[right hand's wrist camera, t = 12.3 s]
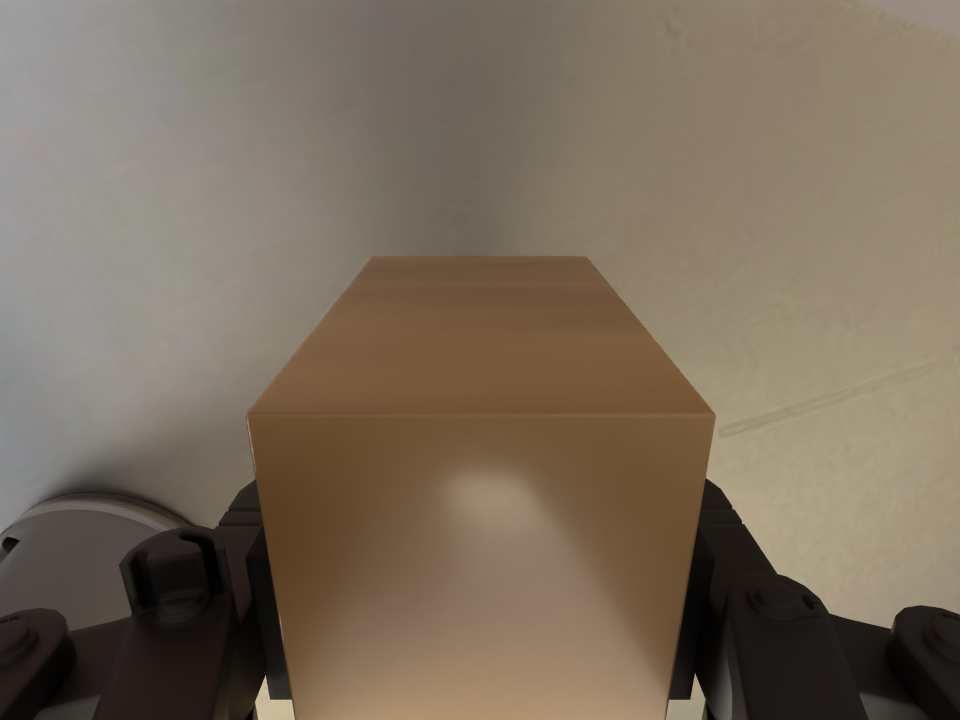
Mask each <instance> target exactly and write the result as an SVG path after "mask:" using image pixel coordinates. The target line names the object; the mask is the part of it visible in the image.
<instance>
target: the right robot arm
mask: <svg viewBox="0 0 960 720" xmlns="http://www.w3.org/2000/svg"><path fill="white" fill-rule="evenodd" d="M228 509H229V510H228V512H226V513H225V514H224V516H223V517H222V519H221V520H220V522H219V526H216V528H215V529H214V530H213V529H209V528H205V527H202V526H190V525H189V524H188V523H186V522H185V521H183V520H182V519H180V518H179V517H177V516H175V515H174V514H172V513H170V512H168V511H166V510H164V509H162V508H160V507H158V506H155V505H153V504H150V503H147V502H145V501H142V500H138V499H135V498H131V497H127V496H122V495H116V494H109V493H77V494H69V495H65V496H60V497H56V498H53V499H50V500H47V501H45V502H43V503H41V504H38V505H37V506H35V507H33V508H32V509H30V510H29V511H27V512H26V513H25V514H23V515H22V516H21V517H20V518H19V519H17V520H16V521H15V522H14V523H13V524H11V525H10V526H9V527H8V528H7V529H6V530H4V531H3V532H2V533H1V534H0V720H258V717H257V710H256V705H255V700H256V698H257V695H258V693H259V690H260V688H261V685H262V683H263V680H264V677H265V675H266V679H267V684H268V690H269V696H270V700H292V697H291V691H290V685H289V679H288V673H287V666H286V660H285V654H284V648H283V642H282V636H281V630H280V624H279V618H278V611H277V605H276V599H275V593H274V587H273V581H272V575H271V569H270V563H269V556H268V550H267V544H266V538H265V532H264V526H263V520H262V514H261V507H260V501H259V495H258V489H257V483H256V479H255V480H254V481H252V482H251V483H250V484H248V485H247V486H246V487H244V488H243V489H242V490H240V491H239V493H238V494H237V496H236V497H235V499H234V500H233V502H232V504H231V505H230V507H229V508H228ZM695 674H696V676H697V679H698V681H699V684H700V686H701V689H702V691H703V694H704V697H705V699H706V700H705V705H704V710H703V715H702V720H960V615H959V614H957V613H954V612H951V611H948V610H945V609H942V608H936V607H929V606H922V605H920V606H913V607H907V608H904V609H903V610H902V611H900V612H899V613H898V614H897V615H896V616H895V619H894V622H893V625H892V628H891V629H889V628H884V627H880V626H876V625H871V624H867V623H863V622H858V621H854V620H850V619H846V618H842V617H839V616H836V615H833V614H829V612H828V611H827V609H826V608H825V606H824V605H823V603H822V601H821V600H820V598H818V597H817V596H816V595H815V594H814V593H813V592H811V591H810V590H809V589H808V588H807V587H805V586H804V585H802V584H800V583H798V582H796V581H794V580H792V579H790V578H788V577H786V576H782V575H779V574H777V573H776V571H775V570H774V568H773V567H772V565H771V564H770V562H769V561H768V559H767V558H766V556H765V555H764V553H763V552H762V550H761V549H760V547H759V546H758V544H757V543H756V541H755V540H754V538H753V537H752V535H751V534H750V532H749V531H748V529H747V528H746V526H745V525H744V524H742V520H741V519H740V517H739V516H738V514H737V513H736V511H735V510H733V509H732V505H731V504H730V502H729V501H728V499H727V498H726V496H725V495H724V493H723V492H722V490H721V489H720V488H719V487H717V486H716V485H715V484H713V483H712V482H711V481H709V480H708V479H706V478H705V484H704V490H703V496H702V502H701V508H700V514H699V520H698V527H697V533H696V539H695V545H694V551H693V557H692V563H691V569H690V575H689V581H688V587H687V593H686V599H685V605H684V611H683V617H682V623H681V629H680V636H679V642H678V648H677V654H676V660H675V666H674V672H673V678H672V684H671V690H670V696H669V700H690V698H691V692H692V686H693V681H694V675H695Z"/></svg>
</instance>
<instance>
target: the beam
mask: <svg viewBox="0 0 960 720" xmlns="http://www.w3.org/2000/svg"><path fill="white" fill-rule="evenodd" d="M715 417H716V416H715V413H714V412H713V411H712V409H711V408H710V407H709V406H708V404H707V403H706V402H705V401H704V400H703V398H702V397H701V396H700V395H699V393H698V392H697V391H696V390H695V389H694V387H693V386H692V385H691V384H690V382H689V381H688V380H687V379H686V378H685V376H684V375H683V374H682V373H681V371H680V370H679V369H678V368H677V367H676V365H675V364H674V363H673V362H672V360H671V359H670V358H669V357H668V356H667V354H666V353H665V352H664V351H663V349H662V348H661V347H660V346H659V345H658V343H657V342H656V341H655V340H654V338H653V337H652V336H651V335H650V333H649V332H648V331H647V330H646V329H645V327H644V326H643V325H642V324H641V322H640V321H639V320H638V319H637V318H636V316H635V315H634V314H633V313H632V311H631V310H630V309H629V308H628V307H627V305H626V304H625V303H624V302H623V300H622V299H621V298H620V297H619V296H618V294H617V293H616V292H615V291H614V289H613V288H612V287H611V286H610V285H609V283H608V282H607V281H606V280H605V278H604V277H603V276H602V275H601V274H600V272H599V271H598V270H597V269H596V267H595V266H594V265H593V264H592V262H591V261H590V260H589V259H588V258H587V257H372V258H371V260H370V261H369V262H368V263H367V265H366V266H365V267H364V268H363V270H362V271H361V272H360V273H359V275H358V276H357V277H356V278H355V280H354V281H353V282H352V283H351V284H350V286H349V287H348V288H347V289H346V291H345V292H344V293H343V294H342V296H341V297H340V298H339V299H338V301H337V302H336V303H335V304H334V306H333V307H332V308H331V309H330V311H329V312H328V313H327V314H326V316H325V317H324V318H323V319H322V320H321V322H320V323H319V324H318V325H317V327H316V328H315V329H314V330H313V332H312V333H311V334H310V335H309V337H308V338H307V339H306V340H305V342H304V343H303V344H302V345H301V347H300V348H299V349H298V350H297V352H296V353H295V354H294V355H293V356H292V358H291V359H290V360H289V361H288V363H287V364H286V365H285V366H284V368H283V369H282V370H281V371H280V373H279V374H278V375H277V376H276V378H275V379H274V380H273V381H272V383H271V384H270V385H269V386H268V388H267V389H266V390H265V391H264V393H263V394H262V395H261V396H260V397H259V399H258V400H257V401H256V402H255V404H254V405H253V406H252V407H251V409H250V410H249V411H248V412H247V414H246V422H247V428H248V434H249V440H250V446H251V452H252V459H253V465H254V471H255V477H256V483H257V489H258V495H259V501H260V507H261V514H262V520H263V526H264V532H265V538H266V544H267V550H268V556H269V563H270V569H271V575H272V581H273V587H274V593H275V599H276V605H277V611H278V618H279V624H280V630H281V636H282V642H283V648H284V654H285V660H286V666H287V673H288V679H289V685H290V691H291V697H292V703H293V709H294V715H295V720H666V714H667V708H668V702H669V696H670V690H671V684H672V678H673V672H674V666H675V660H676V654H677V648H678V642H679V636H680V629H681V623H682V617H683V611H684V605H685V599H686V593H687V587H688V581H689V575H690V569H691V563H692V557H693V551H694V545H695V539H696V533H697V527H698V520H699V514H700V508H701V502H702V496H703V490H704V484H705V478H706V472H707V466H708V460H709V454H710V448H711V442H712V436H713V430H714V424H715Z"/></svg>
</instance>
